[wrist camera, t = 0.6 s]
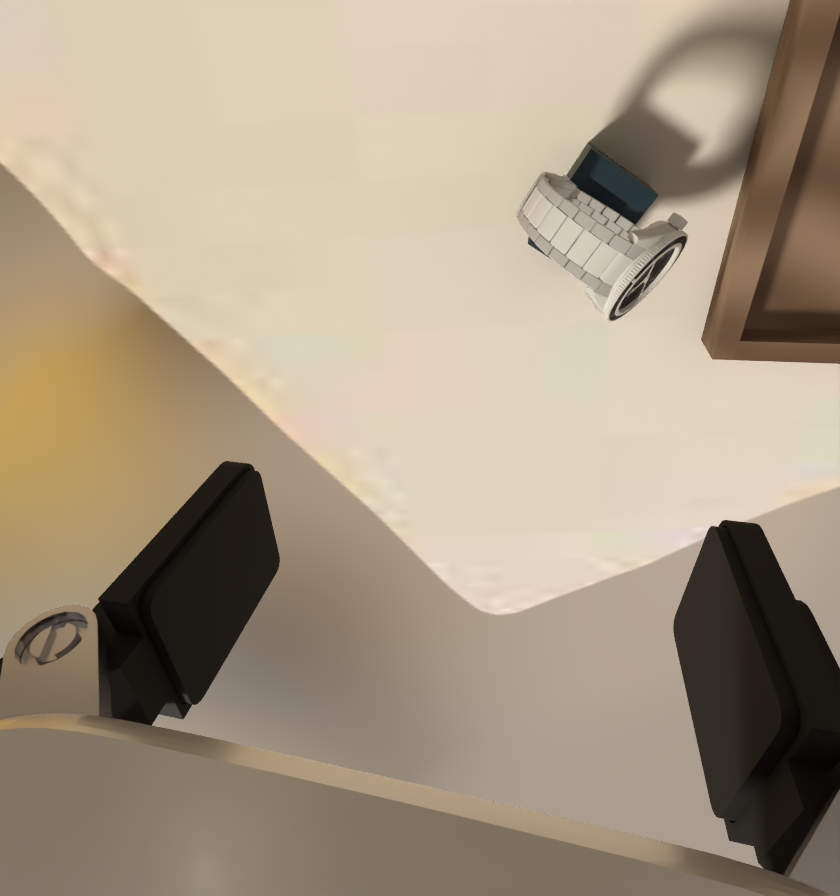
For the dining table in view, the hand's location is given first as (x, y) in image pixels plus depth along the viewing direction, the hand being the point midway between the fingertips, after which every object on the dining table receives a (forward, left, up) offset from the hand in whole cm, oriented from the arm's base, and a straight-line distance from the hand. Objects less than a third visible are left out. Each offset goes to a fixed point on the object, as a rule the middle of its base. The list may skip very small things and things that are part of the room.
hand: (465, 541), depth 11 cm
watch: (-2, +4, -27) cm, 28 cm away
